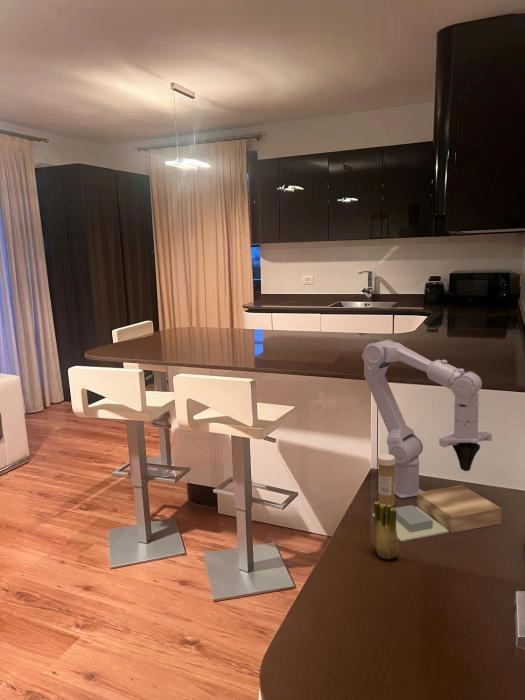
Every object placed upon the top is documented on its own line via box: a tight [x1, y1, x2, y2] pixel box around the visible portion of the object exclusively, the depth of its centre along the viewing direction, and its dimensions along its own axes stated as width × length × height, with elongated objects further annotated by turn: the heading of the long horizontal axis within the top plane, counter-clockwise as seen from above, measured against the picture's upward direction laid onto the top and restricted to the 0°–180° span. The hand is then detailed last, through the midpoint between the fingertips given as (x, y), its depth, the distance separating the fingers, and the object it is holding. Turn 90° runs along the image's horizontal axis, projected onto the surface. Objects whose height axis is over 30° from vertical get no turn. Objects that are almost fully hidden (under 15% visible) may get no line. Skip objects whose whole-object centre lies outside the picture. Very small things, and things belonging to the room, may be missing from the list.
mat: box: [371, 506, 450, 543], centre depth 126 cm, size 14×13×1 cm
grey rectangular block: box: [394, 504, 433, 532], centre depth 126 cm, size 9×6×2 cm, turn 16°
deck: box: [416, 484, 502, 534], centre depth 129 cm, size 15×14×4 cm
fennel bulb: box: [373, 501, 400, 560], centre depth 111 cm, size 6×5×12 cm
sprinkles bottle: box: [377, 453, 396, 507], centre depth 136 cm, size 5×5×13 cm
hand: (465, 469), depth 132 cm, fingers closed
